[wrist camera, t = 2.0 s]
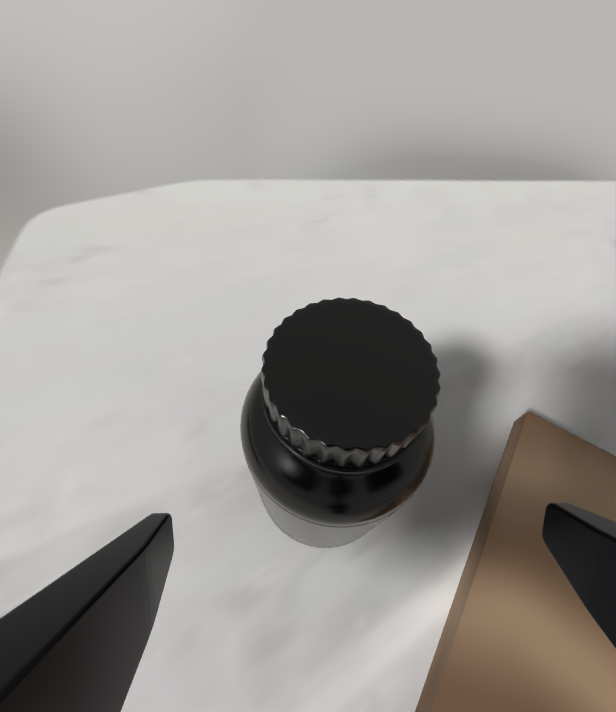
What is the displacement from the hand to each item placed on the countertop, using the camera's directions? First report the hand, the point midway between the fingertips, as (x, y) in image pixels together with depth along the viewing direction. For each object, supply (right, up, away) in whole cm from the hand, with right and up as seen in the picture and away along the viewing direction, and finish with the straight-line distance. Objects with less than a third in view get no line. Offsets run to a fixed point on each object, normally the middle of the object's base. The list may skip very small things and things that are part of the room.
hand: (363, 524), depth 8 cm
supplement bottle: (-1, -3, +11) cm, 11 cm away
